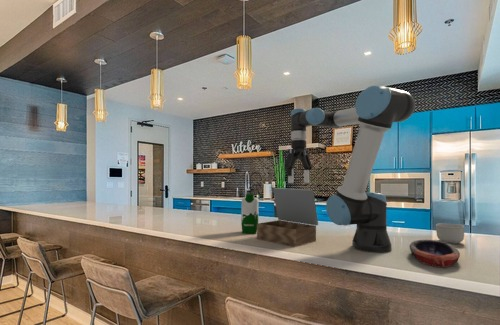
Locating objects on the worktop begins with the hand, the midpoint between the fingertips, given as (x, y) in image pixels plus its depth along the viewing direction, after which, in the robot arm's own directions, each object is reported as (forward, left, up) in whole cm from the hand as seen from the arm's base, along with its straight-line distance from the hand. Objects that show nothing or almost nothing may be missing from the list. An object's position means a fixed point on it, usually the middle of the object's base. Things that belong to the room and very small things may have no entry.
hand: (299, 182), depth 148 cm
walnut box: (-1, +11, -26) cm, 28 cm away
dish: (-57, -4, -27) cm, 63 cm away
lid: (-1, +5, -11) cm, 12 cm away
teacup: (-54, -42, -27) cm, 73 cm away
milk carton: (+23, +11, -26) cm, 37 cm away
